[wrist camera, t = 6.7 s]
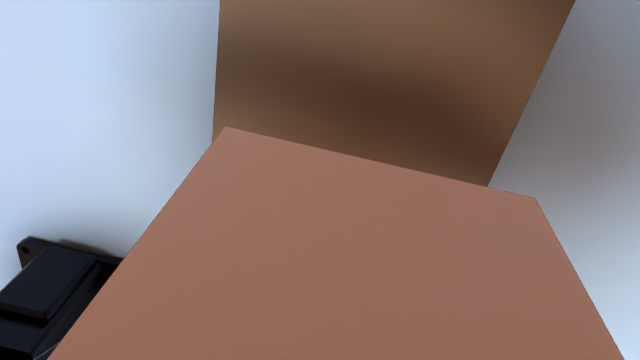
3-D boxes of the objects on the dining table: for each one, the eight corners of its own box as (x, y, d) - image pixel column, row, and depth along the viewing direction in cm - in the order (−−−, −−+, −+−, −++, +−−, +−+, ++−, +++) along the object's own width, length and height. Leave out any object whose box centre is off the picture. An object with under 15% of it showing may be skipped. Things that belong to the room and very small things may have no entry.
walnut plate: (448, 236, 20) (453, 257, 19) (219, 184, 20) (208, 202, 19) (562, -16, 14) (580, -10, 13) (239, -88, 14) (225, -89, 13)
